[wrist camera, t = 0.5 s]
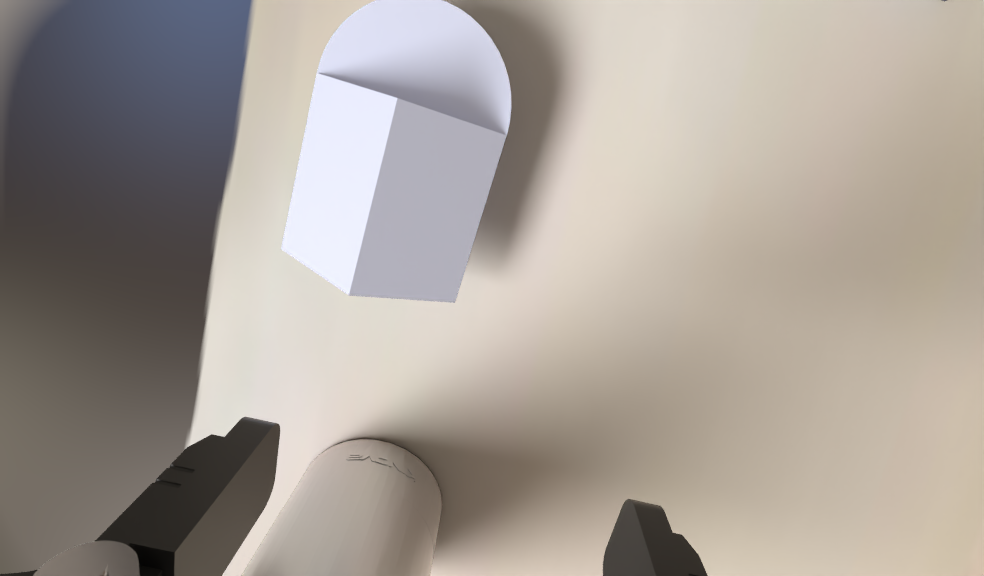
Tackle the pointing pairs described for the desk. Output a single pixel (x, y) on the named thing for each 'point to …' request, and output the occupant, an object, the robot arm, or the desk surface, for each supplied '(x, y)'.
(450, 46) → the wedge on round base
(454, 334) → the desk surface
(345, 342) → the desk surface
